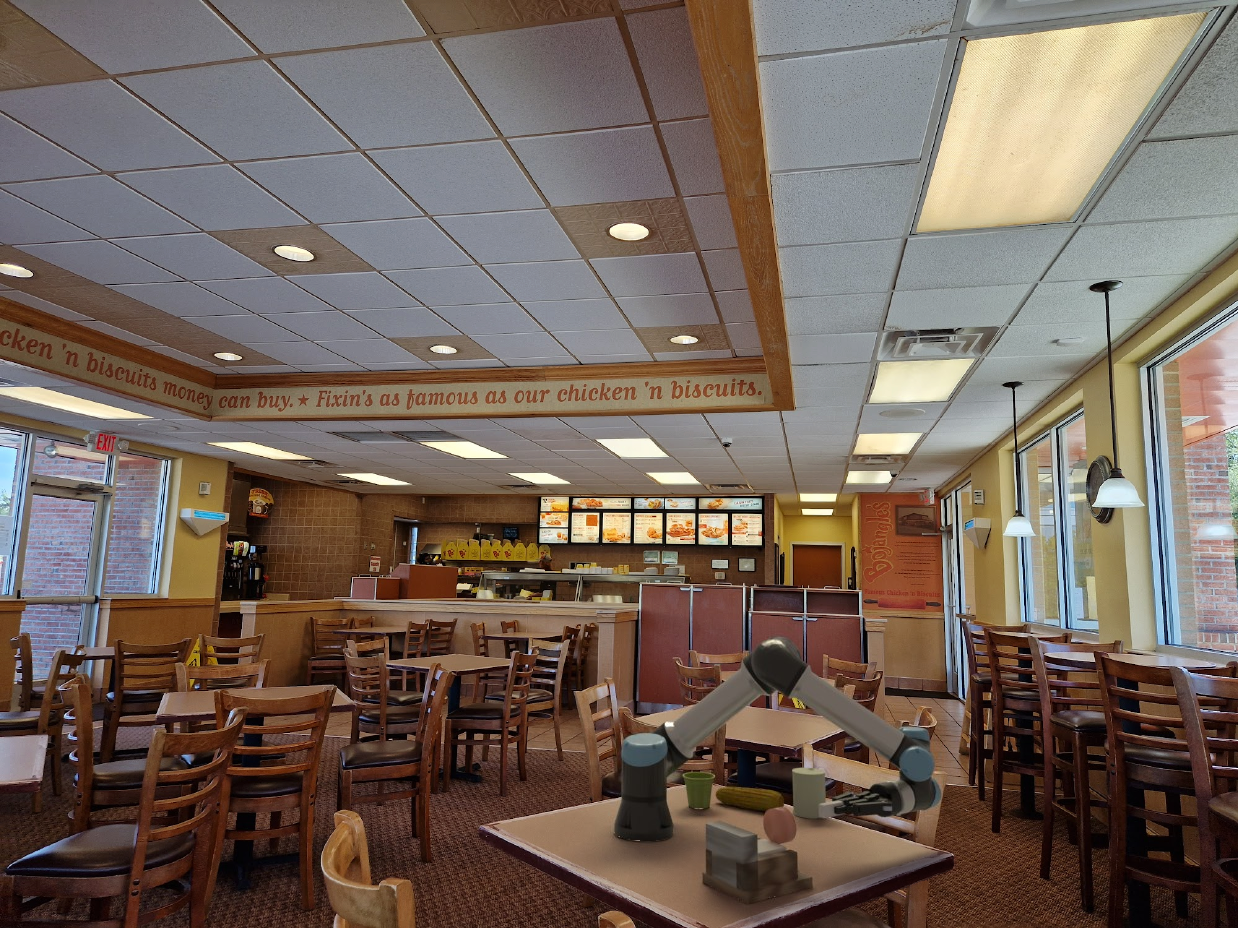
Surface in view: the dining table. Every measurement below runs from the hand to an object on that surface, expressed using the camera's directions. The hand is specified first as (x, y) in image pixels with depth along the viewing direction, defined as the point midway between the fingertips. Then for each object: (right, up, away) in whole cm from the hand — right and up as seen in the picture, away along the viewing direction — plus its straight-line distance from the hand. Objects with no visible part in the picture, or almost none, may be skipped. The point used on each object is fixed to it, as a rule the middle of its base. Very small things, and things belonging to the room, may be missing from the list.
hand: (821, 810), depth 177 cm
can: (+8, -20, +43) cm, 48 cm away
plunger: (-15, -8, -11) cm, 20 cm away
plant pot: (-22, -21, +49) cm, 58 cm away
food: (-8, -21, +49) cm, 54 cm away
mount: (-17, -10, -12) cm, 23 cm away
